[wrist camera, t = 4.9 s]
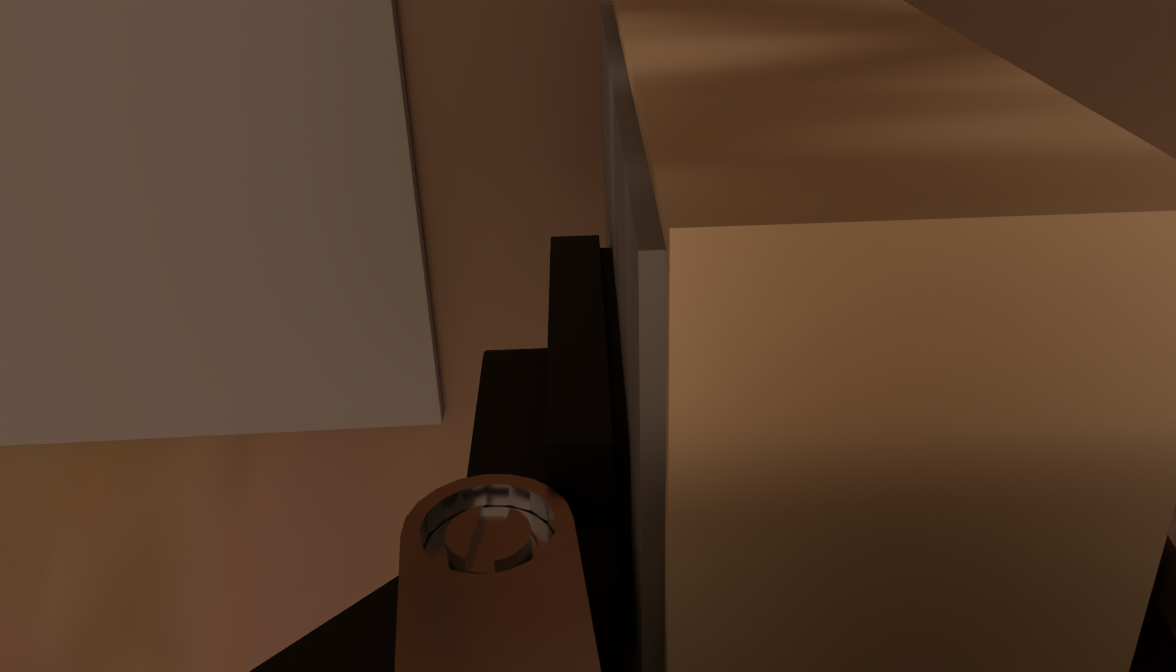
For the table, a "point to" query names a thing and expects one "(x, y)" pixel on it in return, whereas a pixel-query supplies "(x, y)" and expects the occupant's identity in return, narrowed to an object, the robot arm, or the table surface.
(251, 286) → the rubber mat
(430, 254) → the table surface
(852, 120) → the birch tile
